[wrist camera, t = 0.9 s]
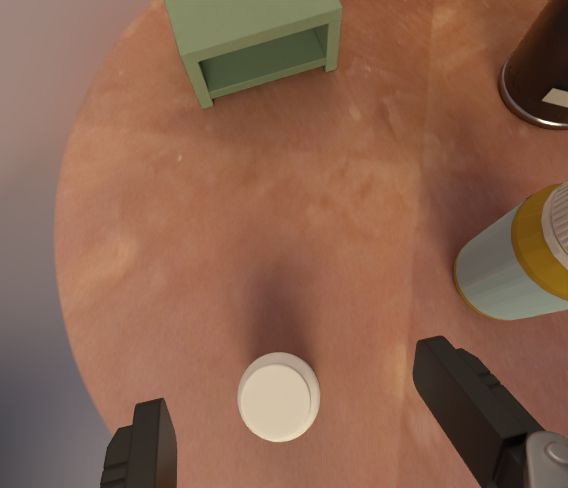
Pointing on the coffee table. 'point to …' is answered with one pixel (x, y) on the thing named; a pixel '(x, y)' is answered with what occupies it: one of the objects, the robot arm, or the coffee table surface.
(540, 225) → the bottle
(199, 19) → the stand
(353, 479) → the coffee table surface
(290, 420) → the pill bottle
